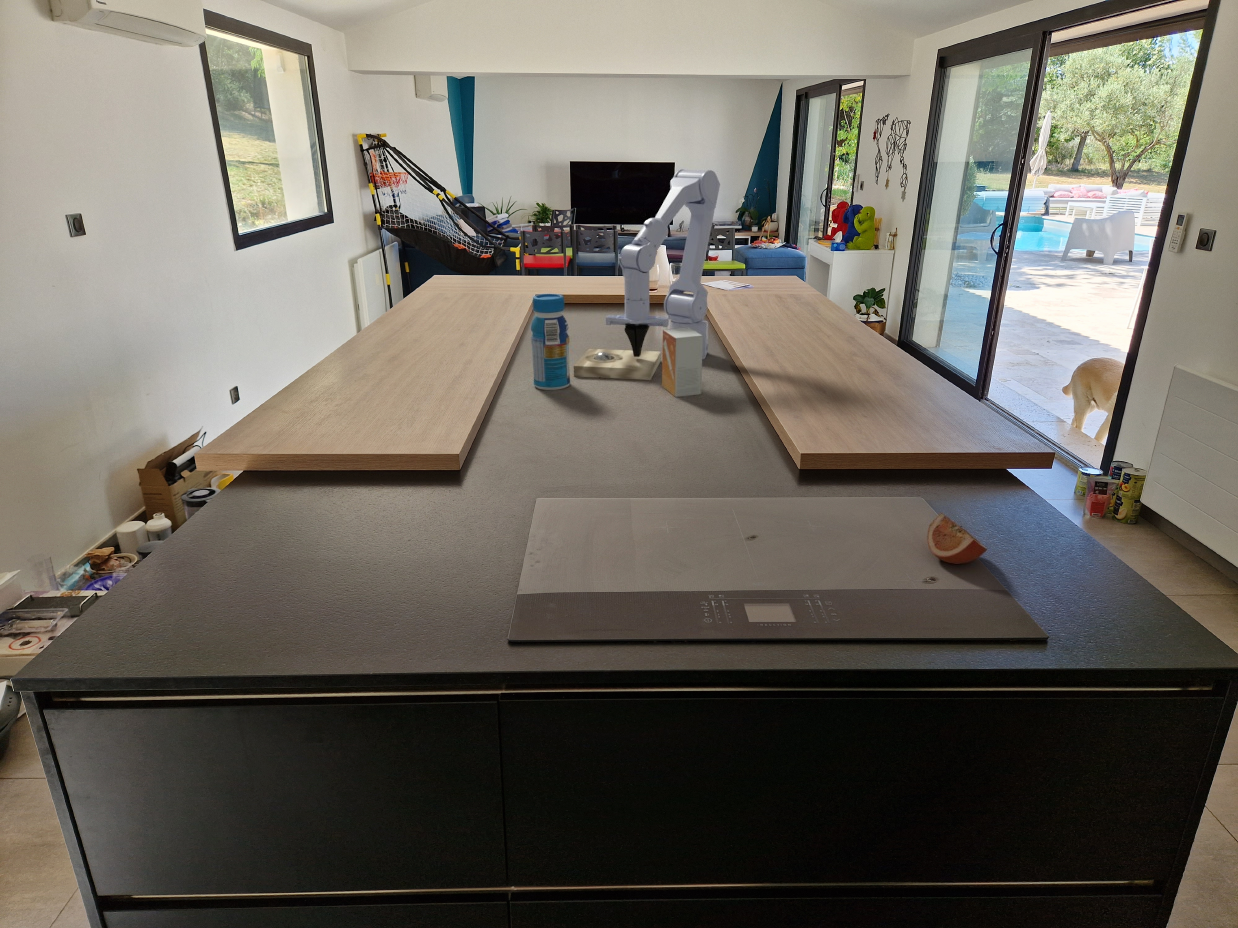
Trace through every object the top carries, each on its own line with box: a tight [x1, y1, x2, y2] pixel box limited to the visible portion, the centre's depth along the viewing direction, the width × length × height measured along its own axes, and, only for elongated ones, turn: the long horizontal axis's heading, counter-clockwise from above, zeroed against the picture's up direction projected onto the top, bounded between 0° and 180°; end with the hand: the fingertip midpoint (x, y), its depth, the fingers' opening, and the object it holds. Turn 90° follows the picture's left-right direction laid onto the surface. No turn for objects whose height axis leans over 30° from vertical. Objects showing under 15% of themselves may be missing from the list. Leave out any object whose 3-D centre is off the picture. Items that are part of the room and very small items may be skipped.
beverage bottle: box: [530, 293, 571, 391], centre depth 178 cm, size 8×8×20 cm
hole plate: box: [573, 348, 662, 381], centre depth 194 cm, size 18×16×2 cm
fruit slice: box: [926, 512, 988, 565], centre depth 107 cm, size 8×7×5 cm
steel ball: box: [595, 352, 611, 361], centre depth 194 cm, size 4×4×4 cm
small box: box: [661, 328, 703, 398], centre depth 175 cm, size 8×6×13 cm
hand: (637, 355), depth 192 cm, fingers closed
